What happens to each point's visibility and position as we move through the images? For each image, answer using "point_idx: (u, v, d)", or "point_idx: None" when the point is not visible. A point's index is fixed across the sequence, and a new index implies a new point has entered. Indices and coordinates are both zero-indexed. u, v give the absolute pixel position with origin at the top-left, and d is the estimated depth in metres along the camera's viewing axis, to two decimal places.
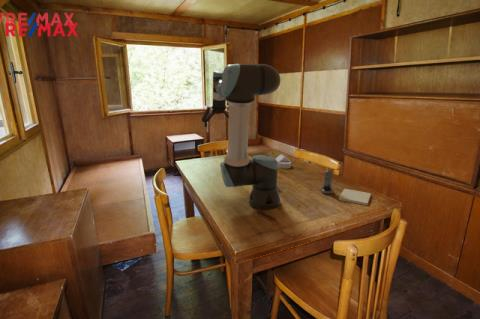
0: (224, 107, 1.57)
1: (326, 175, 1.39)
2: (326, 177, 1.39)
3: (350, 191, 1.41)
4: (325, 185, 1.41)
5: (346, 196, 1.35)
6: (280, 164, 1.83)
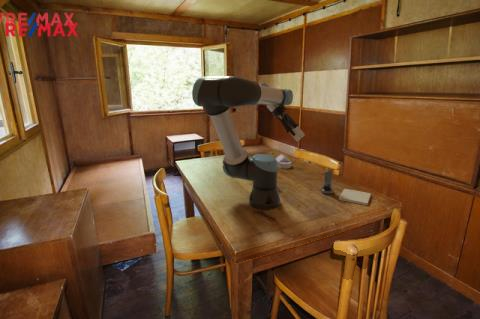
0: None
1: (326, 175, 1.39)
2: (326, 177, 1.39)
3: (350, 191, 1.41)
4: (325, 185, 1.41)
5: (346, 196, 1.35)
6: (280, 164, 1.83)
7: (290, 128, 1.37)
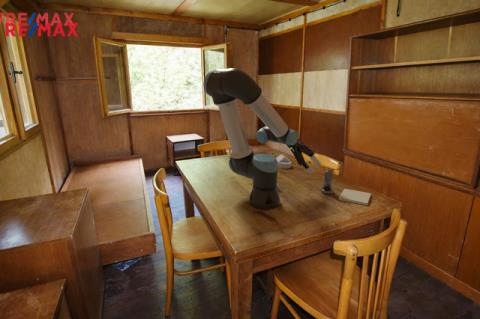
0: None
1: (326, 175, 1.39)
2: (326, 177, 1.39)
3: (350, 191, 1.41)
4: (325, 185, 1.41)
5: (346, 196, 1.35)
6: (280, 164, 1.83)
7: (302, 162, 1.36)
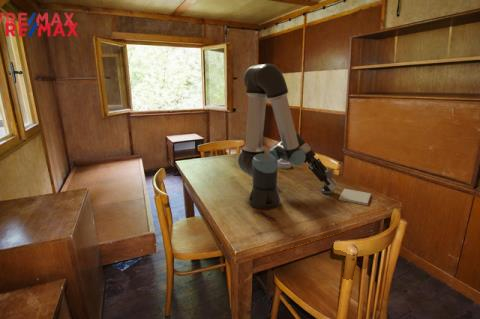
0: None
1: (326, 175, 1.39)
2: (326, 177, 1.39)
3: (350, 191, 1.41)
4: (325, 185, 1.41)
5: (346, 196, 1.35)
6: (280, 164, 1.83)
7: (324, 178, 1.37)
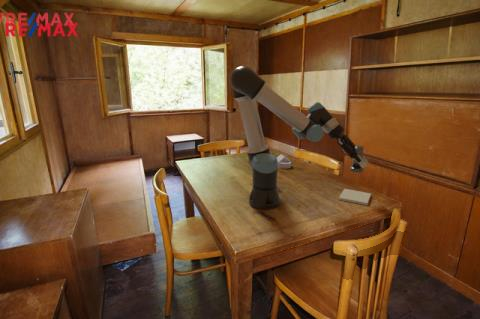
0: (337, 139, 1.31)
1: (356, 151, 1.29)
2: (357, 153, 1.29)
3: (350, 191, 1.41)
4: (355, 162, 1.31)
5: (346, 196, 1.35)
6: (280, 164, 1.83)
7: (355, 154, 1.27)
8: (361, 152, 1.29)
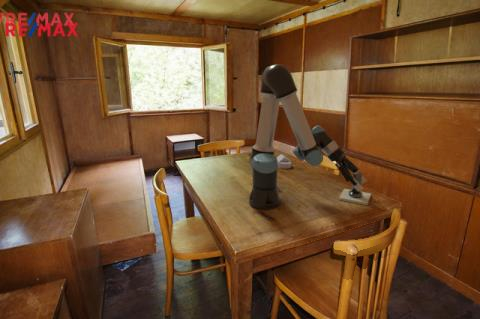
0: None
1: (355, 177, 1.32)
2: None
3: None
4: (354, 188, 1.34)
5: (346, 196, 1.35)
6: (280, 164, 1.83)
7: (351, 178, 1.26)
8: (360, 178, 1.32)
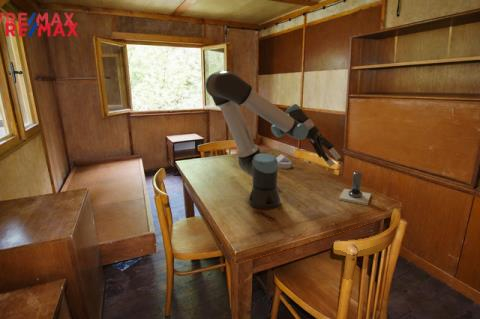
0: None
1: (355, 177, 1.32)
2: (355, 180, 1.32)
3: None
4: (354, 188, 1.34)
5: (346, 196, 1.35)
6: (280, 164, 1.83)
7: (322, 153, 1.30)
8: (359, 178, 1.32)
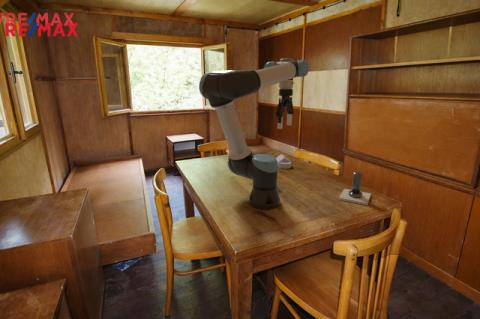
0: None
1: (355, 177, 1.32)
2: (355, 180, 1.32)
3: None
4: (354, 188, 1.34)
5: (346, 196, 1.35)
6: (280, 164, 1.83)
7: (279, 116, 1.44)
8: (360, 178, 1.32)
